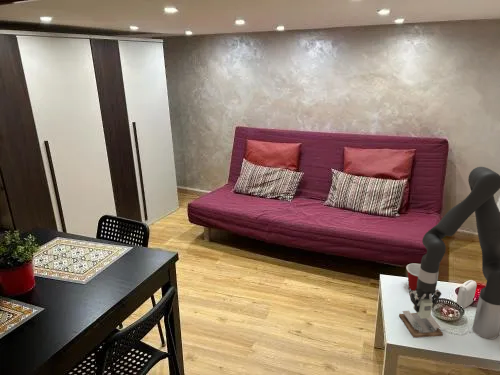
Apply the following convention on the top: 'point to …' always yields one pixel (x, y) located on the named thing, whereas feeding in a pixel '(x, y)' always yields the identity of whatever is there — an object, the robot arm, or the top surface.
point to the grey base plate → (422, 323)
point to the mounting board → (414, 332)
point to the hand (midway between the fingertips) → (421, 310)
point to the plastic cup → (413, 275)
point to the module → (424, 308)
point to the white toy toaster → (466, 293)
